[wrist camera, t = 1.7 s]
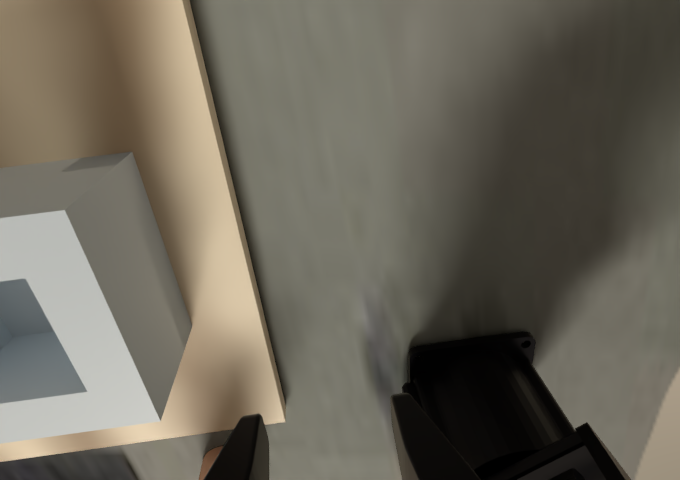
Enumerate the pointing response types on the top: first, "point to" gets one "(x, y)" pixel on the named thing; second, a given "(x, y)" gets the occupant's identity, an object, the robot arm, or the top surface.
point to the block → (84, 300)
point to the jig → (146, 187)
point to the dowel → (209, 461)
